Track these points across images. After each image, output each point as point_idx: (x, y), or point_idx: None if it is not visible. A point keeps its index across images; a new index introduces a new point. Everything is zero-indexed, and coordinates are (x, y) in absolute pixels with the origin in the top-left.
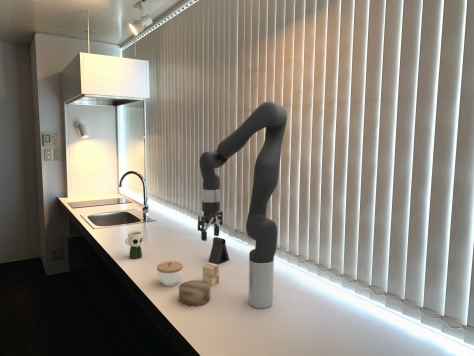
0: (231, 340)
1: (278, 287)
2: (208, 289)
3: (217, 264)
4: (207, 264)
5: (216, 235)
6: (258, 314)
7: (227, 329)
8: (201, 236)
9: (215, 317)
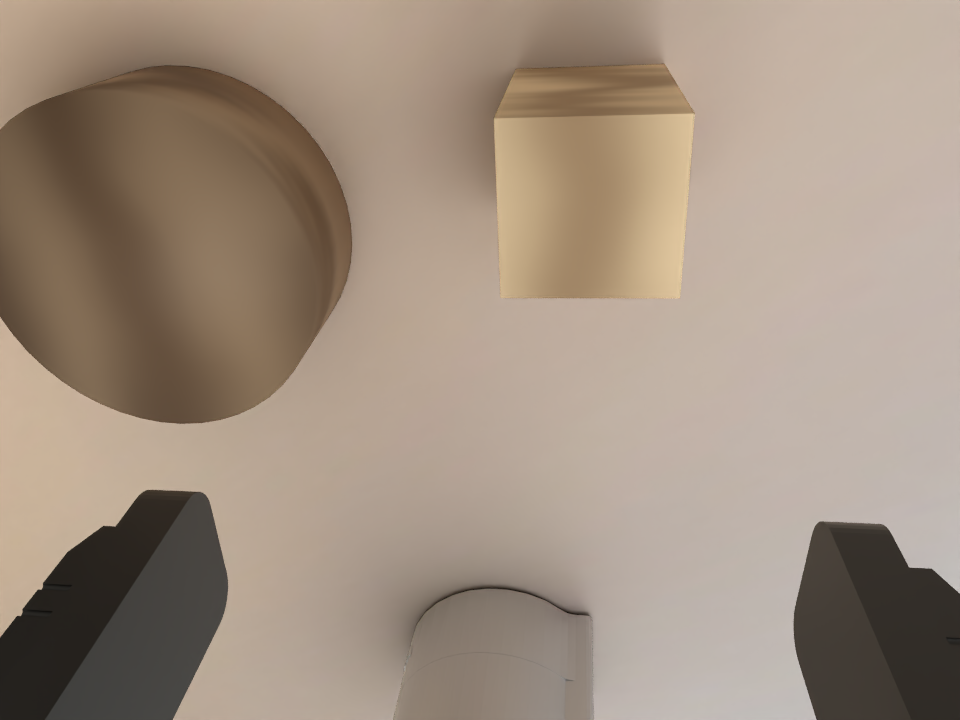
0: None
1: None
2: (203, 422)
3: None
4: (604, 134)
5: (805, 600)
6: (357, 686)
7: None
8: (35, 605)
9: None
